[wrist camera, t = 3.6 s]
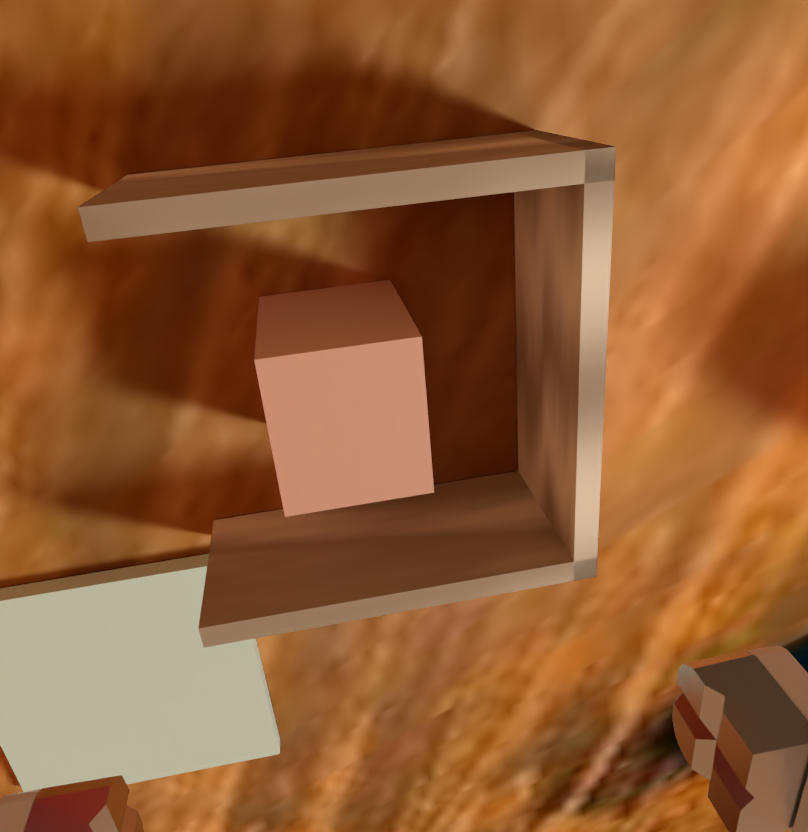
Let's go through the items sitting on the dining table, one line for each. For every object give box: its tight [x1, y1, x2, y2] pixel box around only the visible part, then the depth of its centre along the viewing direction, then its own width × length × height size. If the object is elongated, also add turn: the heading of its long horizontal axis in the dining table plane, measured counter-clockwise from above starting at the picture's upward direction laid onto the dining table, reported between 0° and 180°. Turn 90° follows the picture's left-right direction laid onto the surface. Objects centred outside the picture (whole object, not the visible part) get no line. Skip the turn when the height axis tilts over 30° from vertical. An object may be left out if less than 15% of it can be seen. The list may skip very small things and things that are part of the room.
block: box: [254, 280, 434, 517], centre depth 22 cm, size 5×4×6 cm
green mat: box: [0, 554, 280, 792], centre depth 29 cm, size 11×11×1 cm
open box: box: [78, 130, 616, 648], centre depth 23 cm, size 14×13×6 cm
